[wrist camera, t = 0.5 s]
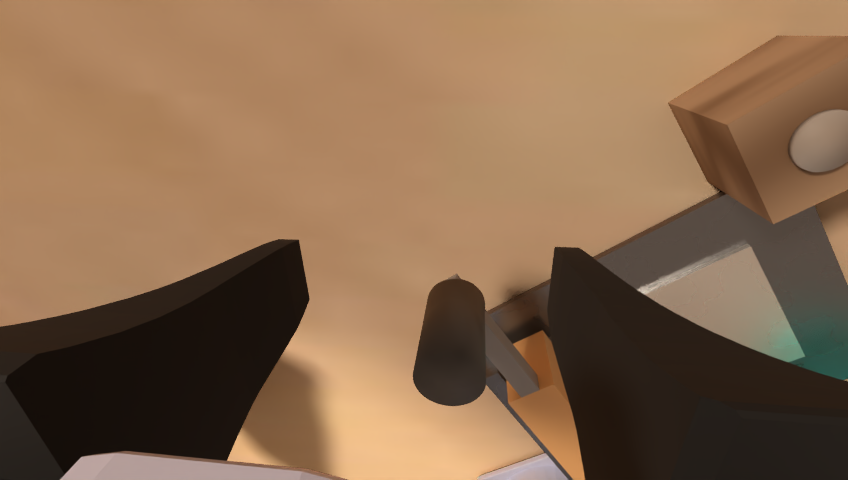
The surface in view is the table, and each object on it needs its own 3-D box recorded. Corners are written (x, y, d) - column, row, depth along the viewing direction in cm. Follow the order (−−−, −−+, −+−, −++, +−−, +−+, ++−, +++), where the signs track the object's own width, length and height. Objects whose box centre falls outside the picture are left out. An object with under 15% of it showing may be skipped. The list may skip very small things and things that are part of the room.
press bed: (875, 362, 23) (924, 402, 20) (573, 461, 29) (582, 501, 27) (789, 156, 19) (836, 176, 16) (459, 325, 25) (457, 358, 22)
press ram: (624, 438, 26) (683, 604, 18) (587, 450, 27) (628, 614, 19) (466, 228, 21) (458, 340, 13) (426, 252, 22) (398, 369, 14)
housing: (811, 125, 18) (928, 158, 13) (706, 180, 20) (778, 228, 15) (776, 35, 17) (892, 36, 12) (667, 102, 18) (732, 126, 14)
